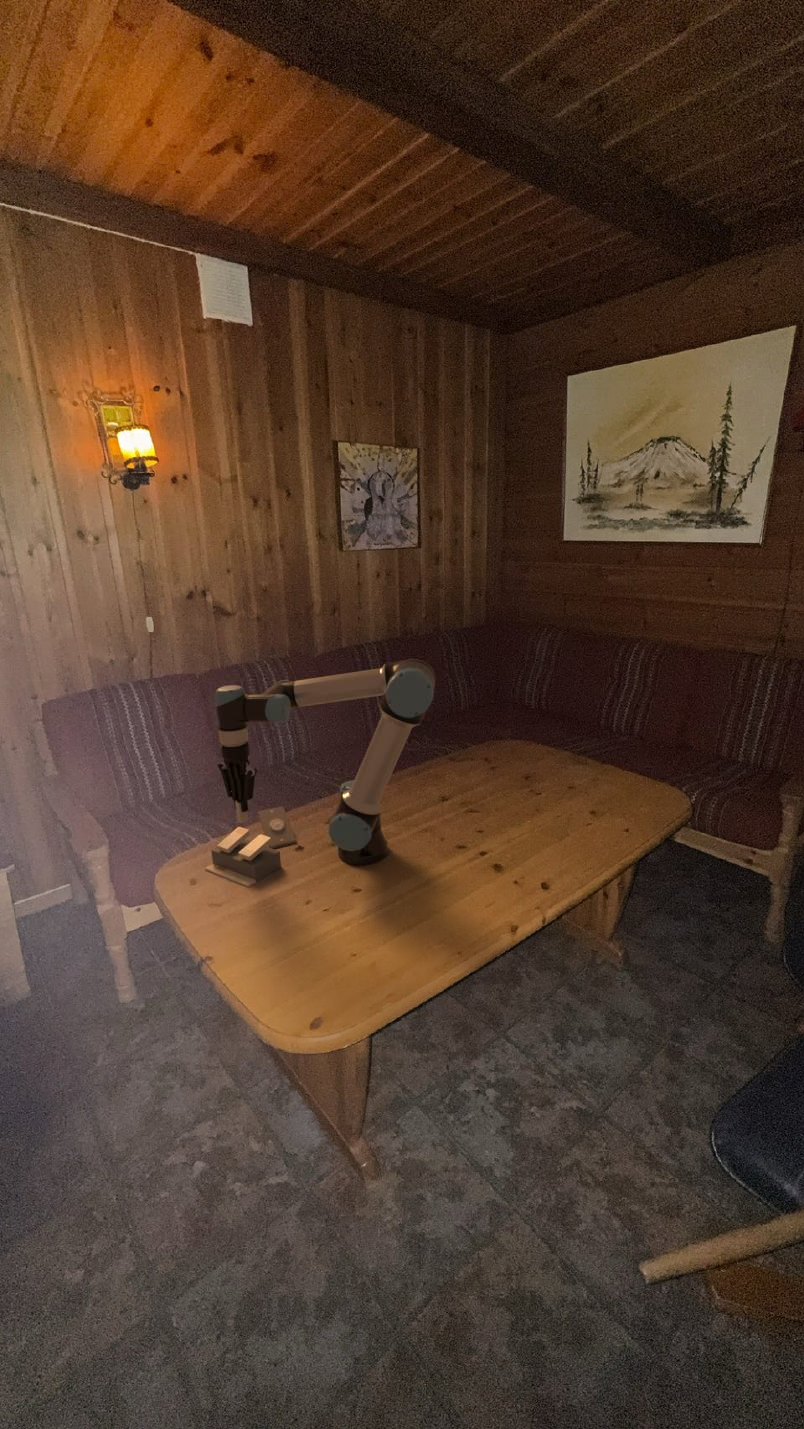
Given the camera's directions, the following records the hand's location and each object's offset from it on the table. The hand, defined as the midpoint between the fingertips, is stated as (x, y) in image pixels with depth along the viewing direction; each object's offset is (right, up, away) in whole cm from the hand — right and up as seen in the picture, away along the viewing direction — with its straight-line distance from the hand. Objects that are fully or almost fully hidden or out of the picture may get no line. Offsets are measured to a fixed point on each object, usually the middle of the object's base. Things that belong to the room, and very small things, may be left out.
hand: (242, 821), depth 177 cm
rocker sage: (+3, -8, +4) cm, 9 cm away
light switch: (+5, -10, +25) cm, 27 cm away
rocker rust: (-5, -7, +9) cm, 12 cm away
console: (-2, -15, +7) cm, 17 cm away
